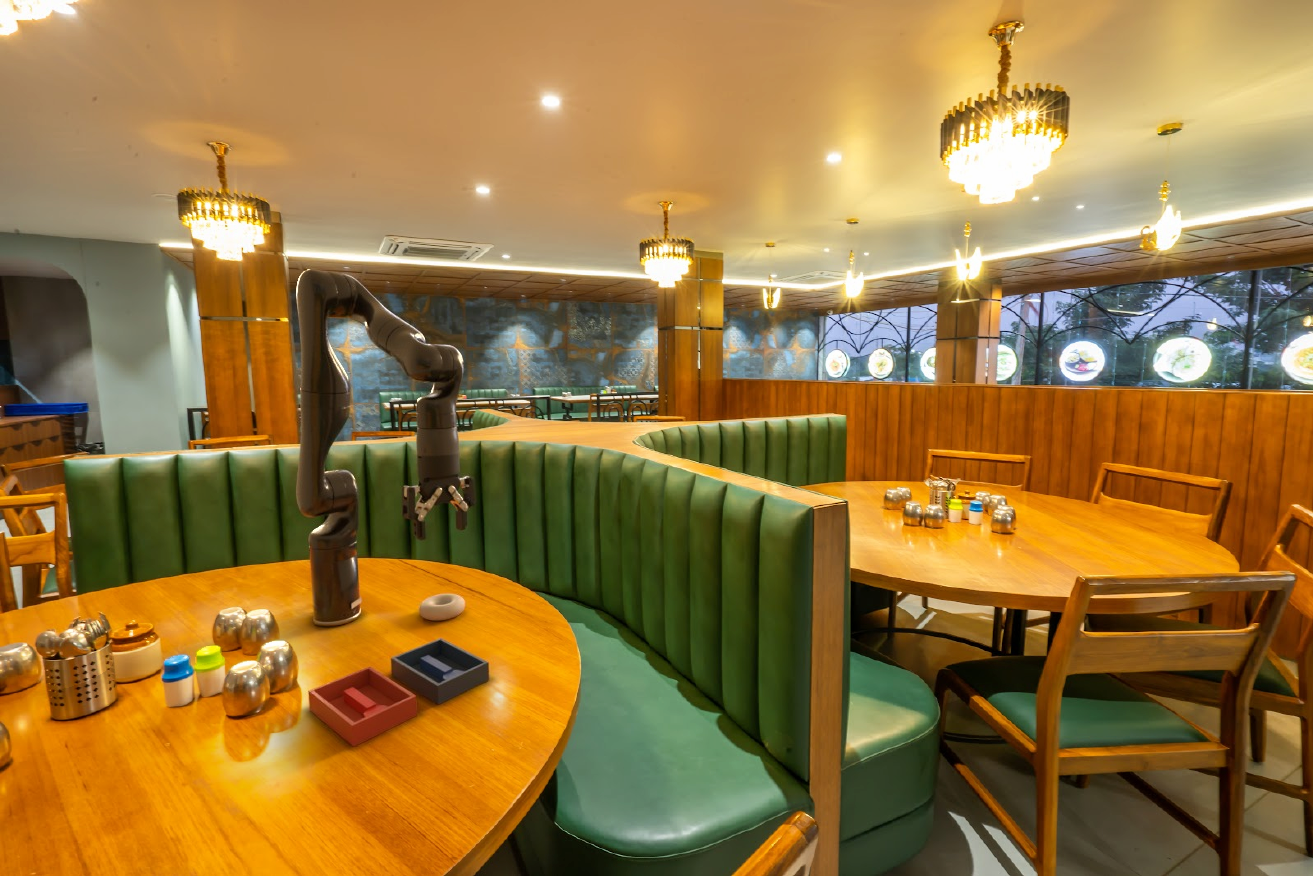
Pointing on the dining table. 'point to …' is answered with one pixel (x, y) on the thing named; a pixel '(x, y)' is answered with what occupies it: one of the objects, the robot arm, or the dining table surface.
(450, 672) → the blue spoon
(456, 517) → the robot arm
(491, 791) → the dining table surface
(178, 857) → the dining table surface
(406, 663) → the blue tray
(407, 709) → the red tray
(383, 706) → the red spoon
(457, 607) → the donut
